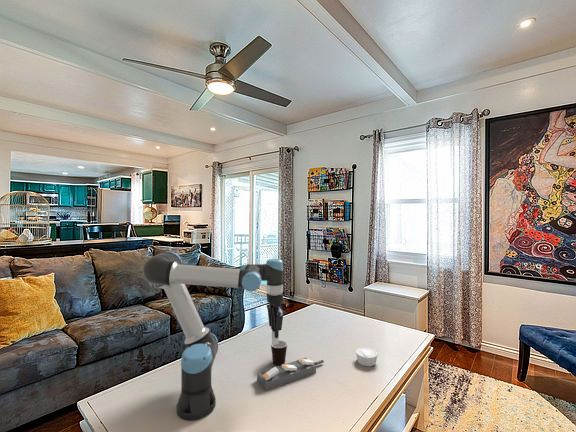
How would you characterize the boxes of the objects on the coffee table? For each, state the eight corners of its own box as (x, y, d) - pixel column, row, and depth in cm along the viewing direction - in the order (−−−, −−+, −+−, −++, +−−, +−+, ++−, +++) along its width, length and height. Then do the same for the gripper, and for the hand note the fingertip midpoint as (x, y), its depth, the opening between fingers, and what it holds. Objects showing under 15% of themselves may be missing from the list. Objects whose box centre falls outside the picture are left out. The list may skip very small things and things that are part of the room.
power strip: (265, 390, 127) (265, 381, 127) (256, 380, 135) (257, 371, 134) (328, 368, 146) (328, 359, 146) (317, 360, 153) (317, 352, 153)
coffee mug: (285, 368, 145) (285, 348, 145) (268, 366, 147) (268, 347, 147) (289, 356, 157) (289, 338, 156) (274, 354, 158) (274, 337, 158)
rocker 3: (302, 364, 138) (303, 361, 139) (298, 361, 141) (299, 358, 141) (313, 364, 142) (314, 362, 142) (309, 361, 145) (310, 359, 145)
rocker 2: (284, 370, 133) (285, 367, 133) (281, 366, 136) (282, 364, 136) (296, 370, 137) (297, 367, 137) (293, 367, 139) (293, 364, 140)
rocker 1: (266, 380, 128) (265, 378, 128) (263, 377, 131) (262, 374, 131) (279, 371, 132) (278, 369, 131) (275, 368, 134) (275, 366, 134)
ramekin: (351, 362, 152) (352, 352, 152) (362, 354, 160) (362, 345, 160) (371, 370, 144) (371, 360, 144) (381, 361, 153) (381, 352, 152)
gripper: (289, 295, 127) (289, 347, 128) (275, 288, 139) (275, 336, 139) (274, 298, 124) (274, 351, 124) (261, 290, 135) (261, 340, 135)
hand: (275, 343), depth 132 cm, fingers closed
